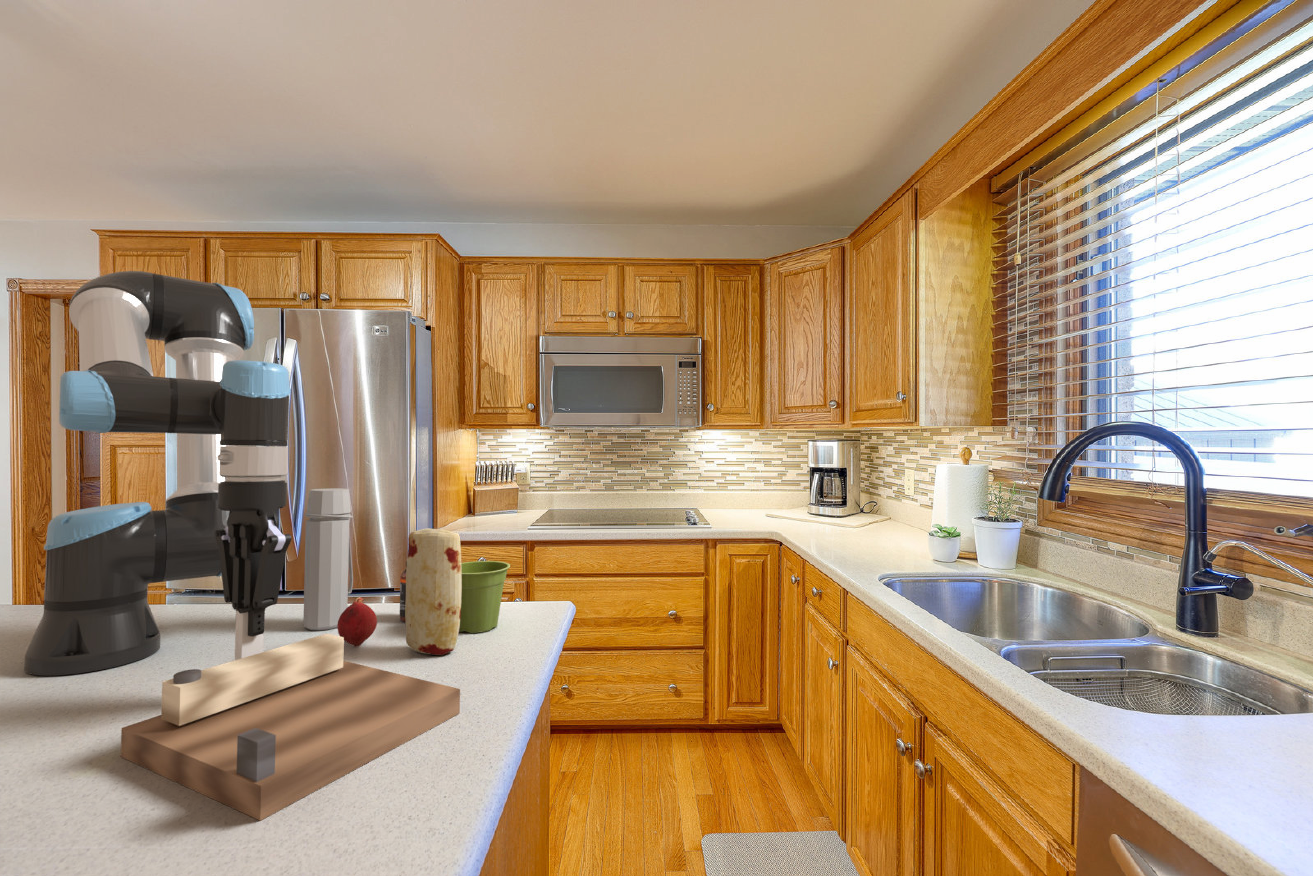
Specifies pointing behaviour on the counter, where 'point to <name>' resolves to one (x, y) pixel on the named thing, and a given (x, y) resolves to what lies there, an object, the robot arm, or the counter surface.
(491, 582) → the plant pot
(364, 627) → the onion
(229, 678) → the folding leg
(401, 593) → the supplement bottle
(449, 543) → the food model
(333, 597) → the water bottle
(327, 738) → the brown flat square block
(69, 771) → the counter surface
